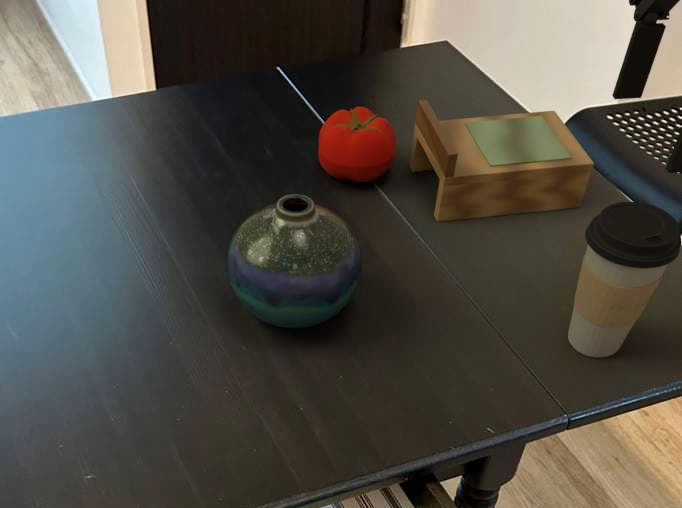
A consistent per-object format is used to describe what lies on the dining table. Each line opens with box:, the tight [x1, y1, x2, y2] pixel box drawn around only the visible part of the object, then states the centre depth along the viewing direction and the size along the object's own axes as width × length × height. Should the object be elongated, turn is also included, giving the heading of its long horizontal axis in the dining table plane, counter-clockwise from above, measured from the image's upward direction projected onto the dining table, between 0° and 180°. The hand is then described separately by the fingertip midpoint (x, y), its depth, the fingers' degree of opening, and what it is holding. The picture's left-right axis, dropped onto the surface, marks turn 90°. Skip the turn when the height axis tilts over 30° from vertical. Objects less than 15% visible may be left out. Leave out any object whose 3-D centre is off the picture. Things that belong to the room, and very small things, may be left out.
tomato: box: [318, 106, 397, 183], centre depth 113 cm, size 11×11×8 cm
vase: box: [226, 193, 363, 329], centre depth 93 cm, size 15×15×13 cm
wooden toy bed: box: [408, 99, 595, 223], centre depth 110 cm, size 20×14×9 cm
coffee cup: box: [567, 201, 682, 359], centre depth 89 cm, size 9×9×15 cm
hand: (652, 131), depth 78 cm, fingers open, 13 cm apart
